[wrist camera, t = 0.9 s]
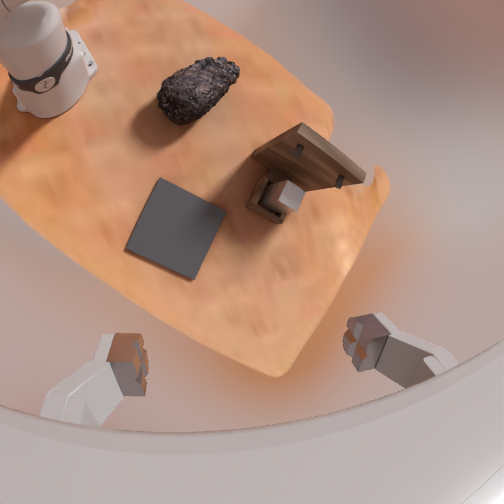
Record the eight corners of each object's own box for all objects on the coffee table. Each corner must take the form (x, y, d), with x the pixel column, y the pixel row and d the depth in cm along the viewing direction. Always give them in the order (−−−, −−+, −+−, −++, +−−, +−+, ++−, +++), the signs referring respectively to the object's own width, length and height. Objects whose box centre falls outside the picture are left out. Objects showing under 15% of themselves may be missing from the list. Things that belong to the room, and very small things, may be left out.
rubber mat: (126, 247, 47) (125, 248, 46) (160, 178, 48) (160, 177, 47) (193, 279, 52) (194, 279, 51) (225, 211, 53) (226, 211, 52)
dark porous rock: (240, 82, 51) (258, 60, 42) (186, 139, 49) (195, 122, 39) (203, 55, 47) (215, 29, 38) (145, 109, 45) (147, 86, 36)
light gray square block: (271, 213, 56) (297, 211, 47) (255, 203, 55) (278, 200, 45) (279, 196, 56) (305, 191, 47) (263, 186, 55) (287, 179, 46)
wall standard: (288, 231, 58) (343, 235, 41) (230, 198, 53) (270, 188, 36) (309, 183, 59) (366, 173, 42) (255, 149, 54) (302, 122, 37)
